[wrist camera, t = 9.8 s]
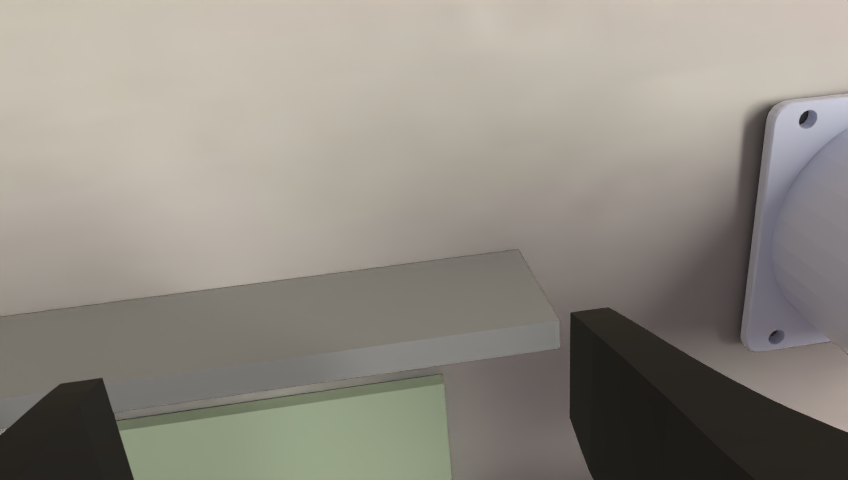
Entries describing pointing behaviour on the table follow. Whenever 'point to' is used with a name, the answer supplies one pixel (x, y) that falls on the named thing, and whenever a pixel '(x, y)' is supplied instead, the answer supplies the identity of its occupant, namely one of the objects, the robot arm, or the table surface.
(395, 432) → the green mat
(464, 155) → the table surface
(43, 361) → the grey wall
